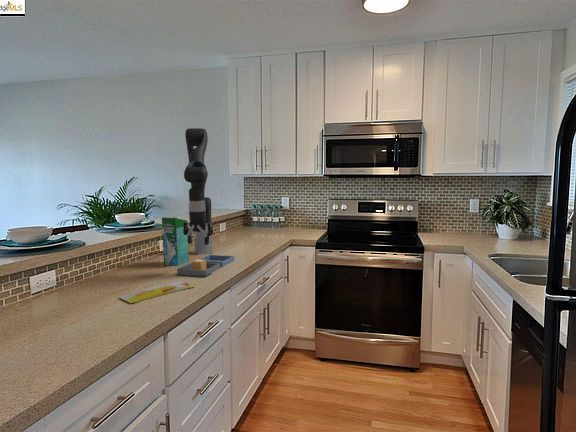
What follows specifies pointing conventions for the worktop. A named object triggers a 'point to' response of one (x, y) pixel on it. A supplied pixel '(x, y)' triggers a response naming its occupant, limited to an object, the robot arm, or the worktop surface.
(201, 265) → the orange cube
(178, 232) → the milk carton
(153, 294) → the food package
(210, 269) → the charcoal tray
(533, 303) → the worktop surface
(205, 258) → the slate-blue tray
